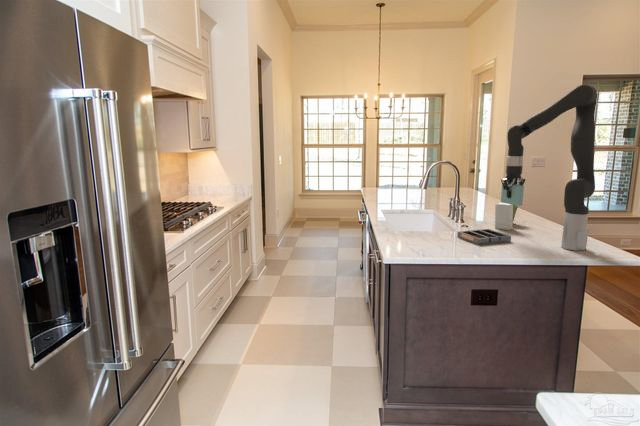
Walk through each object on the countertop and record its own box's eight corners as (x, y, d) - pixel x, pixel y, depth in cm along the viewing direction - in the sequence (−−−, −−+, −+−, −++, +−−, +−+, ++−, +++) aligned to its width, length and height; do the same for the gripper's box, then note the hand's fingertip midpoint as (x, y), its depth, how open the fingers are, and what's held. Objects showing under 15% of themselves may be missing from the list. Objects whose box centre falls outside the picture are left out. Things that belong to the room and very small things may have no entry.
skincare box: (512, 228, 228) (514, 203, 225) (508, 230, 224) (510, 204, 221) (497, 226, 234) (499, 202, 231) (493, 228, 230) (495, 203, 227)
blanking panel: (522, 205, 201) (523, 186, 199) (517, 205, 200) (519, 186, 199) (505, 201, 213) (506, 183, 211) (500, 202, 212) (502, 183, 210)
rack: (510, 241, 200) (511, 236, 200) (477, 245, 195) (478, 239, 194) (488, 234, 216) (488, 228, 216) (457, 236, 211) (457, 231, 210)
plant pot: (521, 224, 239) (523, 206, 237) (506, 226, 235) (508, 207, 233) (506, 220, 250) (507, 203, 248) (491, 222, 246) (493, 204, 244)
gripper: (508, 165, 197) (505, 199, 201) (531, 165, 201) (528, 198, 204) (498, 164, 204) (495, 197, 208) (520, 164, 208) (517, 196, 211)
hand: (511, 197), depth 206 cm, fingers closed on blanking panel, 3 cm apart
